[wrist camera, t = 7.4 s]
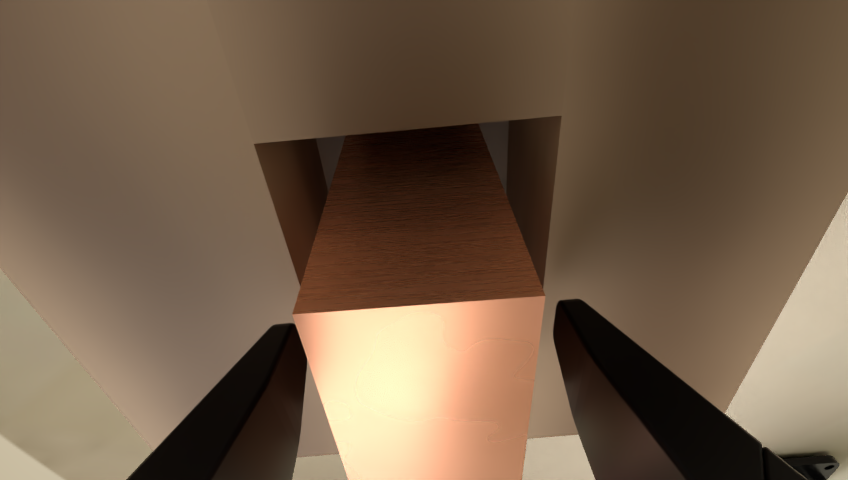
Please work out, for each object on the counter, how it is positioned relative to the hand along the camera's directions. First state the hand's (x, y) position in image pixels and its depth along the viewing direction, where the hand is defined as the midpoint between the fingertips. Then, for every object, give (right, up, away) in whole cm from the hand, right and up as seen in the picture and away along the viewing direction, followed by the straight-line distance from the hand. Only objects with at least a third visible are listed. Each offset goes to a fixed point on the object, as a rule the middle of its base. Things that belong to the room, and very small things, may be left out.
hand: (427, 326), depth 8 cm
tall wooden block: (0, +3, +4) cm, 5 cm away
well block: (0, +3, +5) cm, 6 cm away
